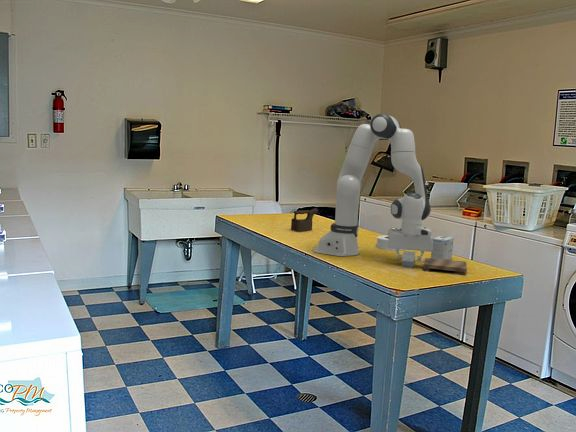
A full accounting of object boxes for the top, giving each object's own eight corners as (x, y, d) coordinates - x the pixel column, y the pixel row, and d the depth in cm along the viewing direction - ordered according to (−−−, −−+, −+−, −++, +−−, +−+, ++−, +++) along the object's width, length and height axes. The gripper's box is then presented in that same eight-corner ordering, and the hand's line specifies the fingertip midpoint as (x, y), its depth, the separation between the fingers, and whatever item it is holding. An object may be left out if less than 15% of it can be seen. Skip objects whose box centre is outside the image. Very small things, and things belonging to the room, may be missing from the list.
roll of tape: (371, 245, 286) (371, 235, 286) (396, 244, 292) (397, 234, 291) (386, 251, 272) (387, 241, 271) (412, 250, 278) (413, 240, 277)
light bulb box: (439, 256, 265) (441, 235, 263) (452, 259, 261) (454, 237, 259) (429, 259, 257) (431, 237, 255) (443, 262, 252) (445, 240, 251)
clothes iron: (319, 230, 324) (320, 209, 322) (296, 232, 316) (298, 209, 314) (312, 228, 331) (313, 207, 329) (290, 230, 322) (291, 208, 320)
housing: (401, 267, 240) (402, 254, 239) (403, 263, 247) (404, 250, 246) (413, 268, 238) (414, 255, 237) (414, 264, 246) (415, 251, 245)
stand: (423, 270, 234) (423, 264, 234) (424, 263, 247) (425, 257, 247) (466, 275, 229) (466, 268, 228) (465, 268, 242) (466, 261, 242)
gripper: (387, 228, 240) (385, 258, 242) (434, 232, 235) (431, 263, 237) (388, 226, 246) (386, 255, 248) (434, 230, 241) (432, 260, 243)
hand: (409, 259), depth 243 cm, fingers open, 7 cm apart
